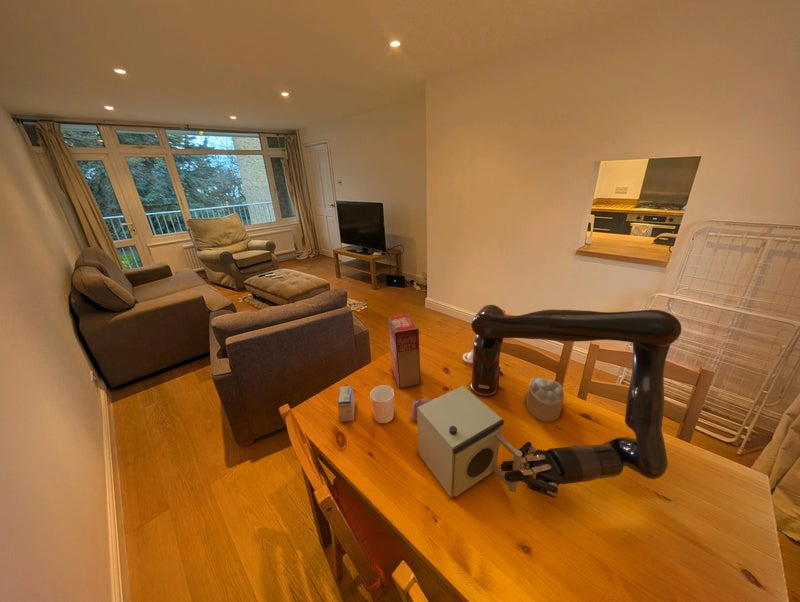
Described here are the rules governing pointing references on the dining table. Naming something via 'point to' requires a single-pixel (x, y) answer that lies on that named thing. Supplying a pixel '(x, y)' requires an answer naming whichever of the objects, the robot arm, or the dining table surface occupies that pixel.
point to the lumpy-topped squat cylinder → (545, 399)
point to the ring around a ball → (468, 357)
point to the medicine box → (346, 403)
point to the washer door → (482, 462)
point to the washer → (452, 430)
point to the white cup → (382, 403)
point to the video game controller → (417, 404)
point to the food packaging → (405, 350)
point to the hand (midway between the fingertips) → (503, 471)
